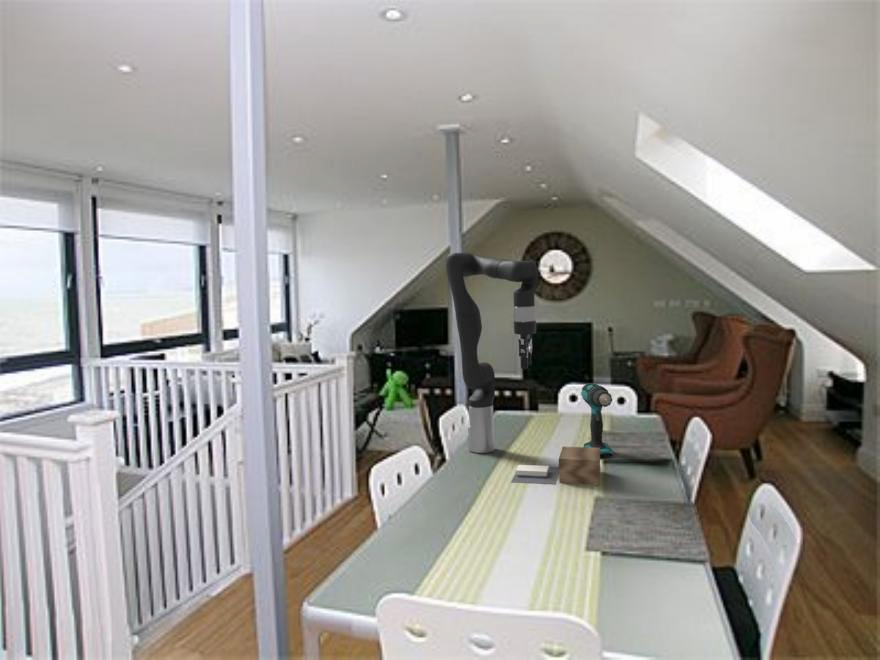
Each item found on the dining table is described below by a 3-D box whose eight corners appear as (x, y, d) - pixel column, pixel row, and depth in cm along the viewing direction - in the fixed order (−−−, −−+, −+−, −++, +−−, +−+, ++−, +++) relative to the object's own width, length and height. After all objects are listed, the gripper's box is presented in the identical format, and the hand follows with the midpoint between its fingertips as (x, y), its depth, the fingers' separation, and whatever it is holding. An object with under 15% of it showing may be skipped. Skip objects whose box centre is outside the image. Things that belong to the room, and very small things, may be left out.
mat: (510, 483, 196) (510, 482, 196) (519, 466, 214) (519, 465, 214) (555, 485, 193) (555, 484, 193) (560, 468, 210) (560, 466, 210)
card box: (546, 471, 199) (546, 477, 199) (548, 466, 205) (548, 471, 205) (515, 470, 202) (515, 476, 202) (518, 464, 208) (518, 470, 208)
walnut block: (559, 483, 194) (558, 458, 194) (563, 469, 208) (562, 446, 207) (599, 485, 191) (598, 460, 190) (600, 471, 204) (599, 447, 204)
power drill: (621, 464, 210) (620, 391, 208) (595, 465, 211) (593, 392, 209) (603, 443, 236) (601, 379, 234) (579, 444, 237) (577, 380, 235)
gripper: (517, 318, 219) (518, 363, 221) (510, 321, 206) (511, 370, 207) (538, 317, 217) (539, 363, 219) (532, 321, 204) (534, 370, 205)
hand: (526, 366), depth 213 cm, fingers open, 8 cm apart
